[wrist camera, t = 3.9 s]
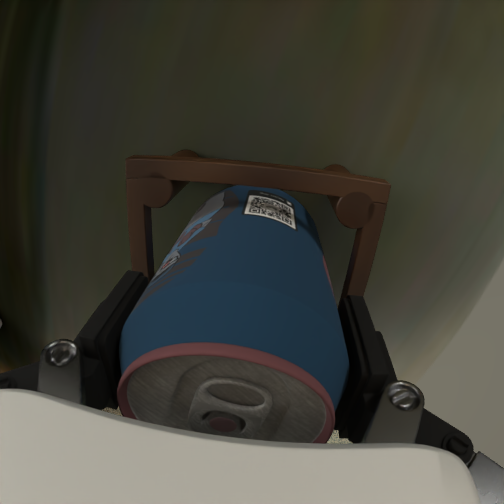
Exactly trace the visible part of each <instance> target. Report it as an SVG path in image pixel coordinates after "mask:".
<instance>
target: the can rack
mask: <svg viewBox="0 0 504 504" xmlns="http://www.w3.org/2000/svg"><path fill="white" fill-rule="evenodd" d="M190 181H192V182H206V183H218V184H230V185H241V186H252V187H262V188H271V189H280V190H289V191H298V192H306V193H314V194H322V195H327V197H328V199H329V201H330V203H331V205H332V207H333V210H334V212H335V214H336V216H337V218H338V220H339V221H340V222H341V223H342V224H343V225H344V226H346V227H348V228H352V229H357V231H356V236H355V240H354V245H353V249H352V253H351V258H350V262H349V266H348V270H347V274H346V278H345V282H344V286H343V290H342V294H341V298H340V301H339V305H338V309H339V306H340V302H341V299H342V298H345V299H346V297H347V295H356V296H363V295H364V292H365V288H366V285H367V282H368V278H369V275H370V271H371V267H372V264H373V260H374V256H375V252H376V248H377V245H378V241H379V236H380V232H381V228H382V224H383V220H384V215H385V211H386V206H387V202H388V197H389V193H390V188H391V184H390V183H388V182H387V181H386V180H384V179H379V178H373V177H367V176H361V175H355V174H351V173H350V172H349V171H348V170H347V169H346V168H345V167H343V166H341V165H337V164H334V165H330V166H328V167H326V168H325V169H324V170H321V169H313V168H305V167H297V166H289V165H280V164H271V163H261V162H250V161H239V160H227V159H213V158H199V157H198V155H197V154H196V153H194V152H193V151H191V150H181V151H179V152H177V153H175V154H174V155H172V156H152V155H133V156H131V157H128V158H126V193H127V212H128V228H129V241H130V252H131V262H132V271H138V272H143V274H144V276H147V278H148V284H149V283H150V281H151V280H152V278H153V277H154V275H155V274H154V259H153V242H152V220H151V208H161V207H163V206H165V205H166V204H168V203H169V202H170V201H171V200H172V199H173V198H174V197H175V196H176V195H177V194H178V193H179V192H180V191H181V190H182V189H183V188H184V187H185V186H186V185H187V184H188V183H189V182H190Z"/></svg>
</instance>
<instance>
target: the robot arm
mask: <svg viewBox="0 0 504 504" xmlns="http://www.w3.org/2000/svg"><path fill="white" fill-rule="evenodd" d="M147 286H148V278H147V276H144V274H143V272H138V271H131V270H128V271H127V272H126V273H125V275H124V276H123V277H122V278H121V280H120V281H119V282H118V284H117V285H116V286H115V287H114V289H113V290H112V291H111V293H110V294H109V295H108V297H107V298H106V299H105V300H104V301H103V302H102V303H101V304H100V305H99V306H98V308H97V309H96V310H95V312H94V313H93V315H92V316H91V317H90V319H89V320H88V321H87V323H86V324H85V326H84V327H83V328H82V330H81V331H80V333H79V334H78V335H77V337H76V338H75V340H74V341H72V340H68V339H59V340H55V341H53V342H51V343H49V344H48V345H46V346H45V348H44V349H43V350H42V353H41V357H40V361H39V362H35V363H32V364H29V365H26V366H23V367H20V368H17V369H14V370H11V371H8V372H4V373H1V374H0V504H504V468H503V467H501V466H500V465H498V464H497V463H495V462H494V461H493V460H491V459H490V458H488V457H487V456H486V455H484V454H483V453H481V452H480V451H479V452H478V453H477V454H476V453H475V452H474V451H473V444H472V442H471V440H470V439H469V437H468V436H467V435H465V434H464V433H463V432H461V431H459V430H458V429H456V428H455V427H453V426H451V425H450V424H448V423H447V422H445V421H443V420H442V419H440V418H439V417H437V416H435V415H434V414H432V413H431V412H429V411H427V410H426V409H424V396H423V393H422V392H421V390H420V389H419V388H418V387H417V386H415V385H414V384H412V383H410V382H407V381H403V380H400V381H398V380H397V377H396V374H395V371H394V368H393V365H392V362H391V359H390V356H389V353H388V350H387V348H386V345H385V342H384V339H383V336H382V334H381V332H379V331H375V328H374V325H373V323H372V320H371V317H370V314H369V311H368V309H367V306H366V303H365V300H364V298H363V296H356V295H347V297H346V299H345V298H342V299H341V302H340V306H339V309H338V313H339V318H340V322H341V326H342V331H343V335H344V340H345V344H346V349H347V353H348V359H349V378H348V383H347V386H346V389H345V391H344V394H343V396H342V398H341V400H340V402H339V404H338V406H337V408H336V410H335V425H334V430H338V431H339V438H348V440H349V441H351V442H352V443H353V444H322V443H292V442H276V441H263V440H253V439H243V438H234V437H226V436H219V435H212V434H205V433H199V432H193V431H187V430H182V429H177V428H171V427H166V426H162V425H157V424H152V423H148V422H143V421H139V420H135V419H131V418H127V417H123V416H119V415H116V414H112V413H108V412H105V411H102V409H104V408H106V407H109V408H112V409H116V410H117V408H118V406H119V405H118V400H117V389H118V385H119V382H120V379H121V377H122V375H121V368H120V359H119V341H120V336H121V332H122V329H123V326H124V324H125V322H126V320H127V319H128V317H129V315H130V314H131V312H132V310H133V309H134V307H135V305H136V304H137V302H138V301H139V299H140V297H141V296H142V294H143V293H144V291H145V289H146V288H147Z"/></svg>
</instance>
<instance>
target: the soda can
mask: <svg viewBox="0 0 504 504" xmlns="http://www.w3.org/2000/svg"><path fill="white" fill-rule="evenodd" d="M119 359H120V368H121V375H122V377H121V379H120V382H119V385H118V389H117V400H118V405H119V408H120V411H121V413H122V415H123V417H127V418H131V419H135V420H139V421H143V422H148V423H152V424H157V425H162V426H166V427H171V428H177V429H182V430H187V431H193V432H199V433H205V434H212V435H219V436H226V437H234V438H243V439H253V440H263V441H276V442H292V443H322V444H326V443H327V441H328V440H329V438H330V437H331V435H332V432H333V430H334V425H335V410H336V408H337V406H338V404H339V402H340V400H341V398H342V396H343V394H344V391H345V389H346V386H347V383H348V378H349V359H348V353H347V349H346V344H345V340H344V335H343V331H342V326H341V322H340V318H339V313H338V309H337V305H336V301H335V297H334V293H333V289H332V285H331V281H330V277H329V273H328V269H327V265H326V261H325V257H324V254H323V250H322V246H321V243H320V239H319V235H318V232H317V229H316V226H315V223H314V221H313V219H312V218H311V216H310V214H309V213H308V212H307V210H306V209H305V208H304V207H303V206H302V205H301V204H300V203H299V202H298V201H297V200H296V199H294V198H293V197H291V196H290V195H288V194H287V193H285V192H283V191H281V190H278V189H271V188H262V187H252V186H241V185H238V186H233V187H230V188H227V189H224V190H222V191H220V192H218V193H216V194H214V195H213V196H211V197H210V198H209V199H208V200H206V201H205V202H204V203H203V204H202V205H201V206H200V208H199V209H198V210H197V212H196V213H195V214H194V216H193V217H192V219H191V220H190V222H189V223H188V225H187V226H186V228H185V229H184V231H183V232H182V234H181V235H180V237H179V238H178V240H177V241H176V243H175V244H174V246H173V247H172V249H171V250H170V252H169V253H168V255H167V256H166V258H165V259H164V261H163V263H162V264H161V266H160V267H159V269H158V270H157V272H156V273H155V275H154V277H153V278H152V280H151V281H150V283H149V284H148V286H147V288H146V289H145V291H144V293H143V294H142V296H141V297H140V299H139V301H138V302H137V304H136V305H135V307H134V309H133V310H132V312H131V314H130V315H129V317H128V319H127V320H126V322H125V324H124V326H123V329H122V332H121V336H120V341H119Z"/></svg>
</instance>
